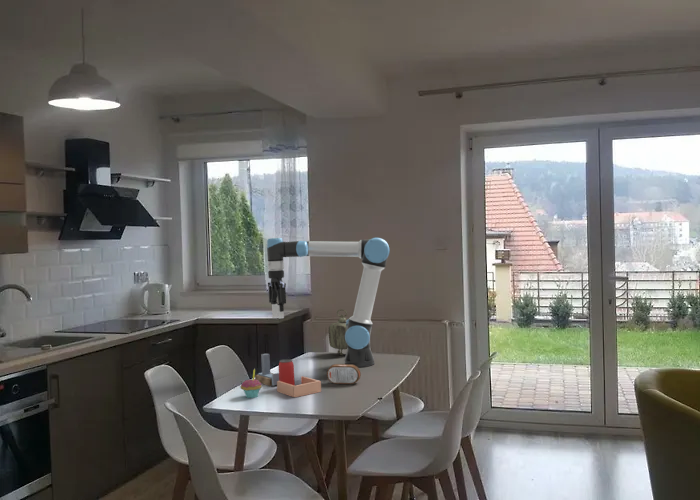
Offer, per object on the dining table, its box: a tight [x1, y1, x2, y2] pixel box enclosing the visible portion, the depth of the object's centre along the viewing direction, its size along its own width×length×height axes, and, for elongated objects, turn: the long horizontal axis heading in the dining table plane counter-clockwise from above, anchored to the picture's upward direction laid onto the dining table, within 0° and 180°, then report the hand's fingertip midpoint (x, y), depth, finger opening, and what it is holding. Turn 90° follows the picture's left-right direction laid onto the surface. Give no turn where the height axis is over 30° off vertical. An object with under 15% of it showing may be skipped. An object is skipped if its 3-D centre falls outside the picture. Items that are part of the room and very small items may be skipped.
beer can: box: [278, 358, 296, 386], centre depth 276 cm, size 7×7×12 cm
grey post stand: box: [257, 353, 279, 386], centre depth 287 cm, size 16×6×12 cm, turn 36°
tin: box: [326, 363, 362, 385], centre depth 279 cm, size 15×3×8 cm, turn 74°
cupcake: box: [240, 367, 263, 399], centre depth 263 cm, size 9×8×12 cm
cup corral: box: [276, 375, 322, 398], centre depth 268 cm, size 14×13×4 cm
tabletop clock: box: [328, 308, 348, 356], centre depth 349 cm, size 14×9×25 cm, turn 52°
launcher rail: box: [254, 372, 275, 387], centre depth 288 cm, size 14×7×3 cm, turn 36°
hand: (278, 317), depth 308 cm, fingers open, 5 cm apart
